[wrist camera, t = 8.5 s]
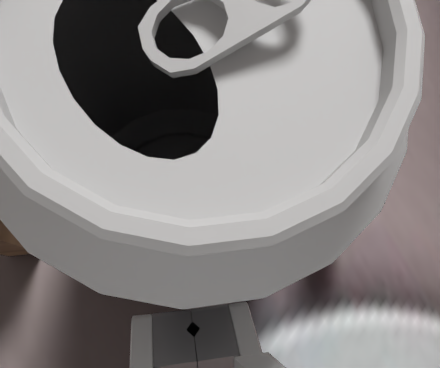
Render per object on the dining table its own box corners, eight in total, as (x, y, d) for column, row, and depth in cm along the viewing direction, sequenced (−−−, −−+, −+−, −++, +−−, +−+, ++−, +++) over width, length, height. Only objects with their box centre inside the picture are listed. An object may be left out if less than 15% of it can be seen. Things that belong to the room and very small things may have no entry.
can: (52, 176, 16) (-242, -102, 5) (207, 87, 18) (265, -275, 7) (153, 340, 15) (85, 488, 4) (309, 228, 17) (595, 91, 5)
